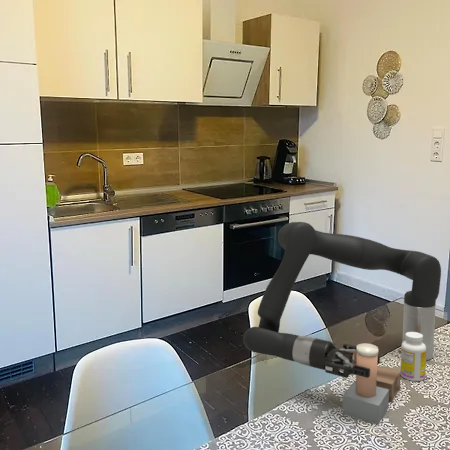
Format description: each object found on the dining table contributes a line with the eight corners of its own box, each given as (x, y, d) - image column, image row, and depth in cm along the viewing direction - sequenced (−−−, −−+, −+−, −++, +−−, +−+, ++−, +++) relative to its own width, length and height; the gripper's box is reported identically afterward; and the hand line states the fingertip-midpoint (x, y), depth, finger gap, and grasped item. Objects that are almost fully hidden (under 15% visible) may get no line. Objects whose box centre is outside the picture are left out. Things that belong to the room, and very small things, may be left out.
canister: (358, 385, 123) (360, 341, 121) (379, 390, 120) (380, 346, 119) (352, 394, 119) (353, 349, 117) (373, 399, 116) (374, 353, 114)
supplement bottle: (421, 371, 141) (422, 330, 139) (428, 382, 134) (430, 339, 132) (397, 371, 141) (399, 330, 139) (403, 381, 135) (405, 339, 133)
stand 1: (354, 398, 127) (354, 380, 126) (388, 407, 122) (389, 389, 121) (342, 414, 119) (342, 395, 118) (378, 424, 114) (379, 405, 114)
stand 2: (367, 379, 137) (368, 363, 136) (400, 387, 132) (400, 370, 131) (357, 393, 129) (358, 376, 128) (391, 402, 124) (392, 384, 123)
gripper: (302, 348, 120) (366, 363, 111) (323, 330, 132) (383, 342, 123) (302, 376, 121) (365, 393, 112) (323, 355, 133) (382, 369, 124)
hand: (374, 366), depth 117 cm, fingers open, 8 cm apart
